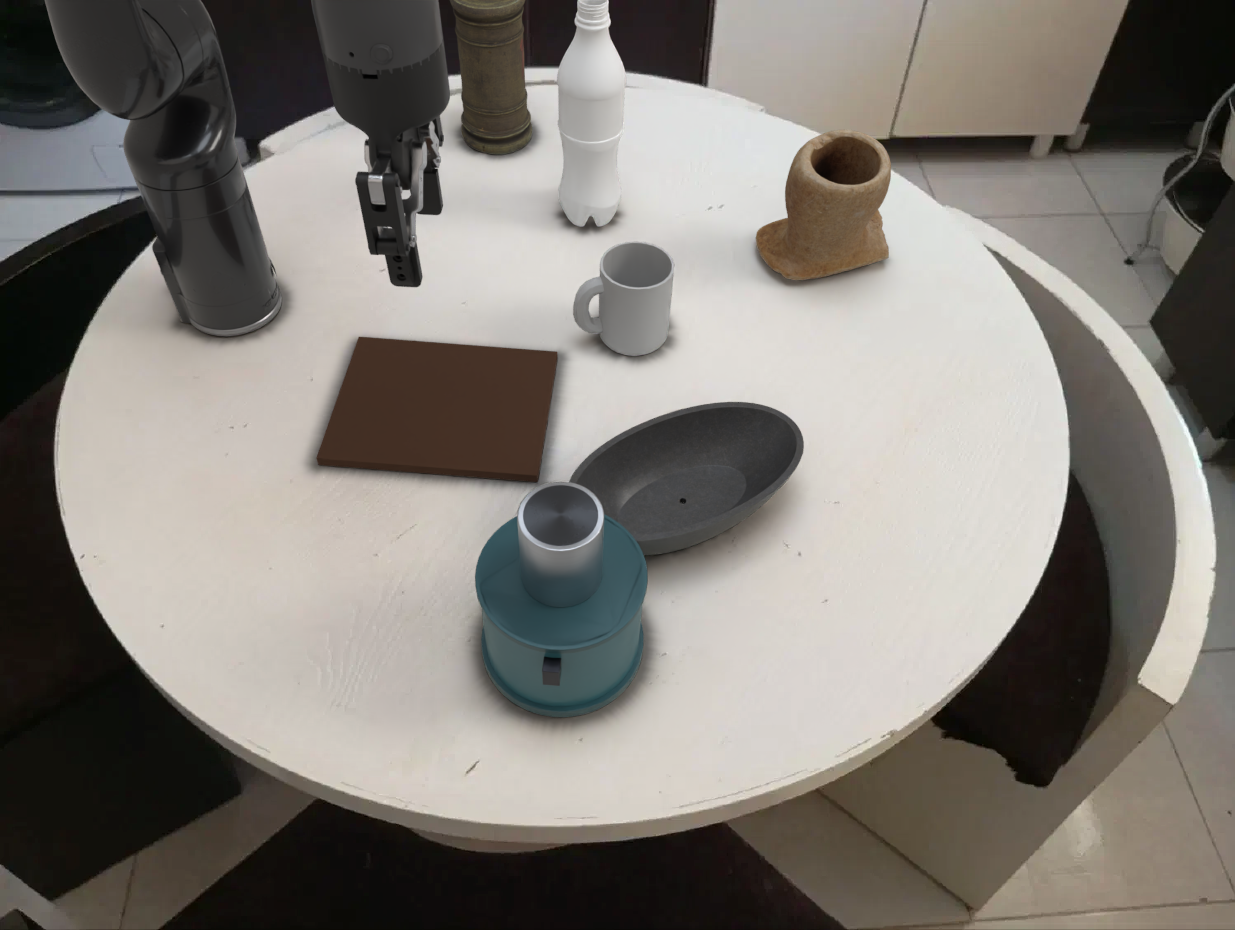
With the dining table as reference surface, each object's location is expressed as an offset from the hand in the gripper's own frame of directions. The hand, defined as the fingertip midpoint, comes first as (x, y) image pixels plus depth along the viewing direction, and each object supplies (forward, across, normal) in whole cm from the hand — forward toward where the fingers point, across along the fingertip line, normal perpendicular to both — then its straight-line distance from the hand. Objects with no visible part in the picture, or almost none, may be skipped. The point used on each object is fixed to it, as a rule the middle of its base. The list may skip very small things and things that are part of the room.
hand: (418, 247), depth 74 cm
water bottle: (+23, -37, +10) cm, 45 cm away
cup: (+23, -17, +14) cm, 32 cm away
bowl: (+24, +5, +21) cm, 32 cm away
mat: (+23, -5, -2) cm, 23 cm away
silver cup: (+13, +19, +12) cm, 26 cm away
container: (+23, -52, -3) cm, 57 cm away
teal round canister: (+23, +19, +12) cm, 33 cm away
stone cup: (+24, -31, +37) cm, 54 cm away
